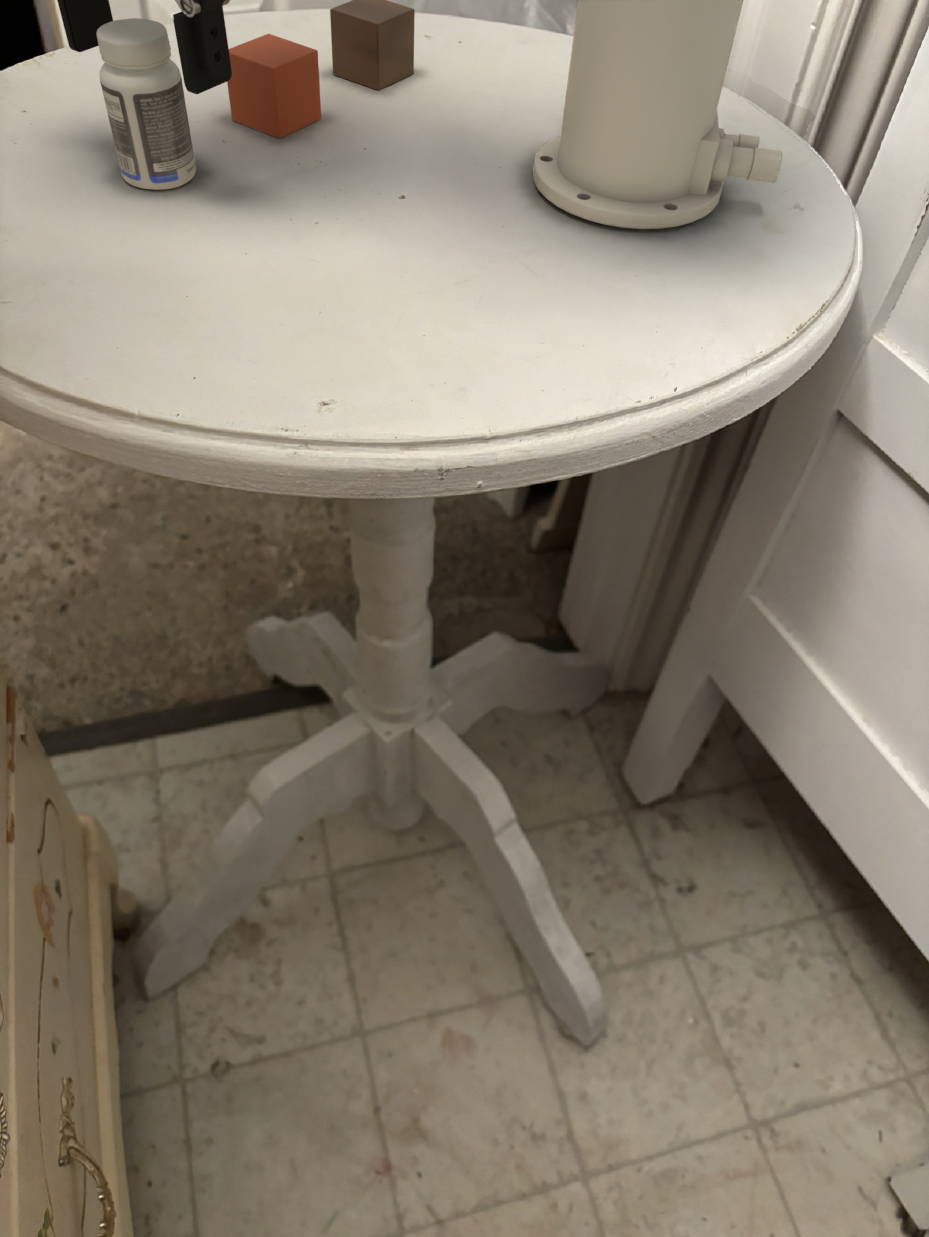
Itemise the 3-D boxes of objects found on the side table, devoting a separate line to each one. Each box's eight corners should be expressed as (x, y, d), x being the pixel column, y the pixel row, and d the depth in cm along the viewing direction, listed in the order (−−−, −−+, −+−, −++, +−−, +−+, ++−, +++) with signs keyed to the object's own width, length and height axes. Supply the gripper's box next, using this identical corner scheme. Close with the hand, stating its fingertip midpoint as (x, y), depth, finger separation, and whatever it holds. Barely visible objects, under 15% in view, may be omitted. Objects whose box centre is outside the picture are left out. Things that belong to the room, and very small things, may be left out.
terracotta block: (274, 101, 70) (268, 33, 67) (322, 119, 69) (318, 50, 65) (231, 120, 68) (222, 50, 64) (279, 139, 66) (273, 68, 63)
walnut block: (368, 58, 76) (367, -6, 73) (414, 74, 75) (415, 8, 71) (332, 74, 74) (329, 9, 70) (378, 91, 72) (377, 24, 69)
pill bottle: (204, 161, 63) (183, 18, 57) (187, 194, 60) (162, 48, 54) (132, 155, 63) (103, 12, 57) (111, 188, 60) (78, 41, 54)
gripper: (266, -326, 43) (302, 83, 56) (13, -362, 49) (99, 15, 62) (139, -313, 39) (211, 125, 52) (-120, -354, 45) (3, 48, 58)
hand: (150, 65), depth 57 cm, fingers open, 9 cm apart
